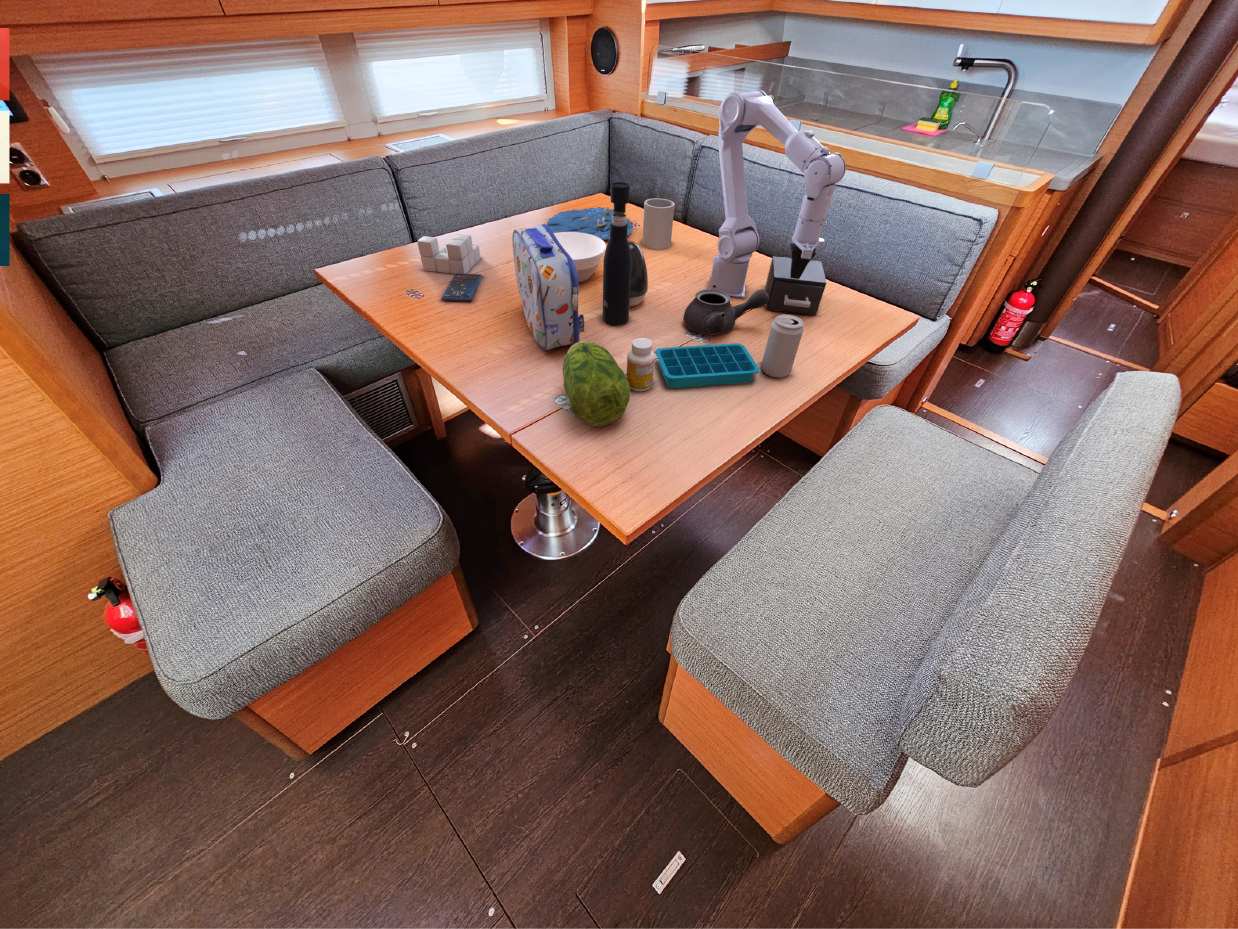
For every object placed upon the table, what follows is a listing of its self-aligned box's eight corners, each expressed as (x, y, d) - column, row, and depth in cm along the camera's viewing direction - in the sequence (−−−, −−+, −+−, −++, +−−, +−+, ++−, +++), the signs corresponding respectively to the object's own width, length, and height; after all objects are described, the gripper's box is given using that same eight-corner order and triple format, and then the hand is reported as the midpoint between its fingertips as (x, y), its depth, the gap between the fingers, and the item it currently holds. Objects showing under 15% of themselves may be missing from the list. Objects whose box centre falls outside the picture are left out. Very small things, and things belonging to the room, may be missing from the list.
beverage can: (790, 381, 108) (806, 330, 100) (759, 377, 109) (773, 325, 101) (789, 365, 113) (804, 315, 105) (759, 361, 114) (773, 311, 105)
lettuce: (606, 368, 109) (607, 320, 101) (635, 429, 95) (638, 378, 87) (553, 375, 107) (550, 326, 99) (574, 438, 92) (572, 386, 85)
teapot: (690, 346, 117) (697, 305, 110) (678, 314, 128) (683, 275, 121) (770, 344, 119) (781, 304, 112) (750, 313, 130) (759, 274, 123)
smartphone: (482, 273, 139) (470, 299, 128) (482, 276, 140) (471, 302, 129) (454, 272, 139) (440, 297, 128) (454, 275, 139) (441, 300, 128)
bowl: (522, 281, 139) (519, 250, 133) (555, 256, 152) (554, 227, 146) (588, 296, 134) (588, 264, 128) (616, 268, 147) (617, 239, 141)
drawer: (816, 321, 126) (825, 295, 122) (769, 316, 127) (776, 290, 123) (811, 292, 138) (818, 267, 134) (768, 287, 139) (774, 263, 135)
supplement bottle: (624, 377, 107) (626, 335, 100) (650, 376, 108) (654, 335, 101) (627, 392, 103) (629, 350, 97) (653, 391, 104) (657, 349, 97)
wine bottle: (632, 316, 127) (640, 182, 106) (623, 327, 122) (630, 191, 102) (607, 311, 128) (611, 178, 107) (598, 322, 124) (600, 186, 103)
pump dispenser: (614, 290, 137) (616, 231, 126) (651, 297, 135) (656, 237, 124) (600, 306, 130) (601, 245, 119) (639, 314, 128) (644, 252, 117)
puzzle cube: (480, 258, 149) (476, 229, 143) (464, 275, 140) (459, 245, 135) (441, 254, 150) (436, 225, 145) (423, 270, 141) (416, 241, 136)
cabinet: (816, 315, 131) (826, 282, 125) (766, 309, 132) (774, 276, 126) (811, 292, 140) (821, 261, 134) (765, 287, 142) (772, 256, 136)
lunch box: (590, 356, 113) (590, 255, 98) (544, 364, 110) (537, 261, 94) (554, 301, 131) (549, 209, 116) (514, 307, 128) (503, 213, 113)
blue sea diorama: (603, 256, 157) (603, 238, 153) (527, 232, 167) (526, 215, 164) (652, 225, 174) (653, 209, 170) (581, 205, 185) (580, 190, 181)
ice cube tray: (758, 384, 107) (762, 372, 105) (665, 391, 104) (666, 378, 102) (739, 354, 115) (742, 342, 113) (652, 360, 112) (653, 348, 110)
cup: (671, 249, 159) (675, 208, 151) (642, 248, 159) (644, 207, 150) (669, 239, 165) (673, 199, 157) (641, 237, 165) (644, 197, 157)
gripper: (834, 230, 107) (814, 292, 117) (827, 208, 118) (809, 267, 127) (799, 227, 108) (782, 288, 117) (796, 205, 118) (780, 263, 128)
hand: (794, 277), depth 122 cm, fingers closed
